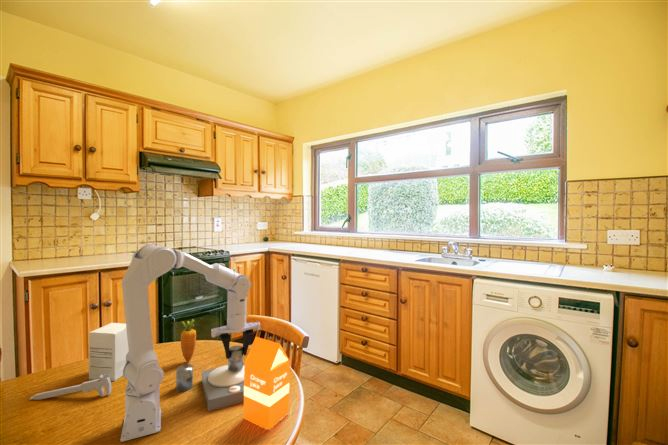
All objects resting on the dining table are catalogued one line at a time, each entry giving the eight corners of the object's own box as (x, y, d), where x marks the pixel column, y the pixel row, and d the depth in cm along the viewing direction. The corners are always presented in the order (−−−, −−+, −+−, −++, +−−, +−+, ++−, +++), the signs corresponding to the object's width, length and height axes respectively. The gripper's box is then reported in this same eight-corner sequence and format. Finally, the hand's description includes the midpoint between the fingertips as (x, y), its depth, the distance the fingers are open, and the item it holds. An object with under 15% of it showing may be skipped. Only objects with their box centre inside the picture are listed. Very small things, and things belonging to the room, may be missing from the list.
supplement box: (111, 365, 105) (111, 321, 104) (135, 367, 104) (136, 323, 104) (87, 379, 96) (87, 331, 95) (114, 382, 95) (114, 333, 95)
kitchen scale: (260, 397, 89) (261, 384, 88) (208, 411, 82) (208, 397, 82) (247, 370, 103) (247, 359, 103) (201, 380, 97) (202, 368, 97)
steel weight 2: (245, 368, 96) (245, 349, 96) (230, 372, 93) (230, 353, 93) (240, 362, 100) (240, 344, 99) (225, 366, 97) (226, 347, 97)
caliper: (111, 394, 89) (111, 373, 89) (109, 397, 88) (109, 375, 87) (31, 398, 86) (31, 376, 86) (28, 401, 85) (28, 378, 85)
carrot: (177, 364, 107) (177, 321, 106) (187, 358, 112) (187, 316, 111) (189, 366, 106) (190, 322, 105) (198, 359, 110) (199, 318, 110)
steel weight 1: (193, 389, 92) (193, 369, 92) (176, 393, 90) (176, 373, 90) (192, 382, 96) (192, 363, 96) (175, 385, 94) (176, 366, 93)
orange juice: (264, 403, 86) (265, 332, 86) (289, 414, 81) (290, 339, 81) (242, 418, 79) (244, 341, 79) (268, 431, 75) (270, 349, 74)
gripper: (256, 306, 103) (256, 346, 103) (210, 311, 96) (209, 355, 96) (262, 311, 97) (261, 355, 97) (213, 318, 90) (212, 364, 90)
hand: (236, 355), depth 96 cm, fingers closed on steel weight 2, 4 cm apart
